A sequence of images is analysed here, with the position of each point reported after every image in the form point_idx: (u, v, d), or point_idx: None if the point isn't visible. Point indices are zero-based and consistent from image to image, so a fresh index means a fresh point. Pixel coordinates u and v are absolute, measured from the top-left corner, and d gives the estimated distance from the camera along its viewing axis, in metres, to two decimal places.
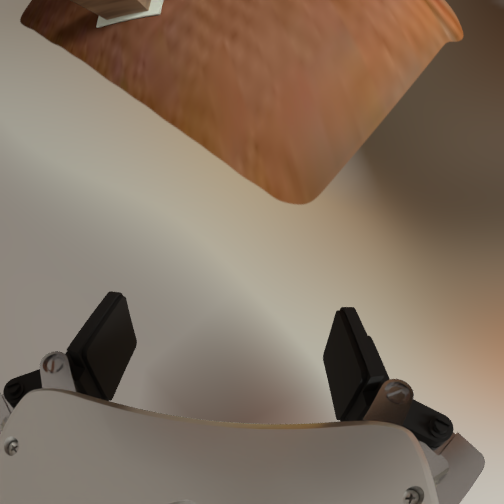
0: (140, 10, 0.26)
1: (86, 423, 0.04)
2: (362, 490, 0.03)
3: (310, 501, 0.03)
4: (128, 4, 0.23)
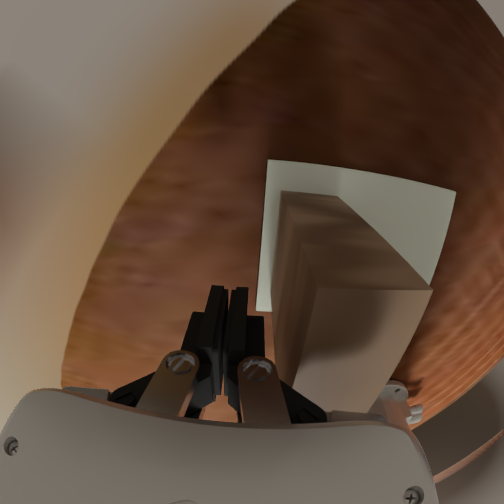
0: (272, 283, 0.20)
1: (86, 423, 0.04)
2: (362, 490, 0.03)
3: (310, 501, 0.03)
4: (275, 302, 0.17)
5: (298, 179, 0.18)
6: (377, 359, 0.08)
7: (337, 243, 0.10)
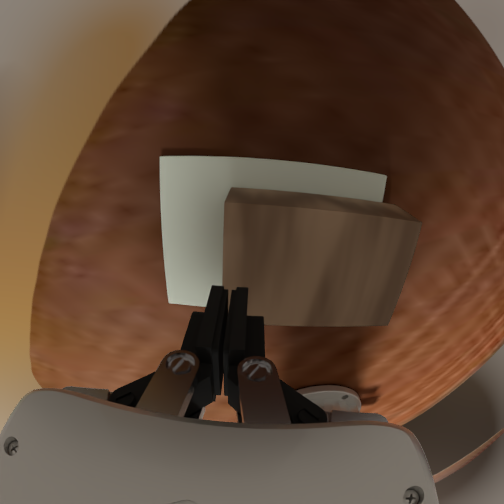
0: None
1: (86, 423, 0.04)
2: (362, 490, 0.03)
3: (310, 501, 0.03)
4: (285, 304, 0.17)
5: (189, 172, 0.17)
6: None
7: (370, 209, 0.16)
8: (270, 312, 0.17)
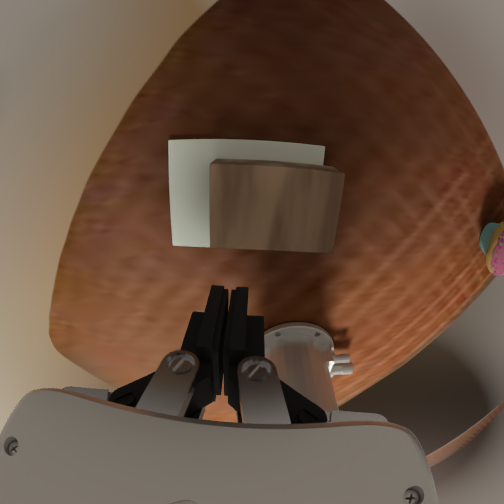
0: (217, 236, 0.25)
1: (86, 423, 0.04)
2: (362, 490, 0.03)
3: (310, 501, 0.03)
4: (252, 232, 0.25)
5: (188, 150, 0.26)
6: None
7: (307, 166, 0.24)
8: (242, 238, 0.26)
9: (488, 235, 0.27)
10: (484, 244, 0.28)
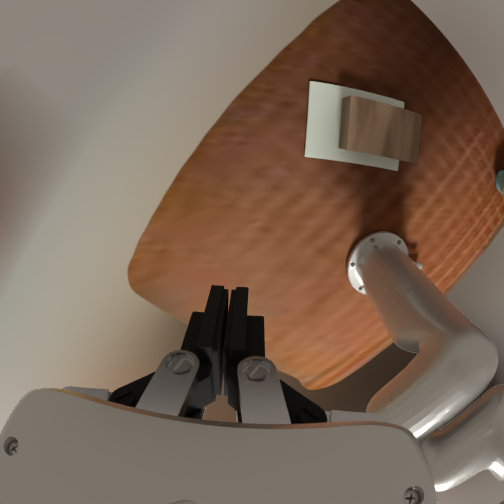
0: (352, 142, 0.33)
1: (86, 423, 0.04)
2: (362, 490, 0.03)
3: (310, 501, 0.03)
4: (373, 142, 0.33)
5: (323, 89, 0.33)
6: None
7: None
8: (367, 146, 0.33)
9: (501, 176, 0.35)
10: (499, 183, 0.36)
